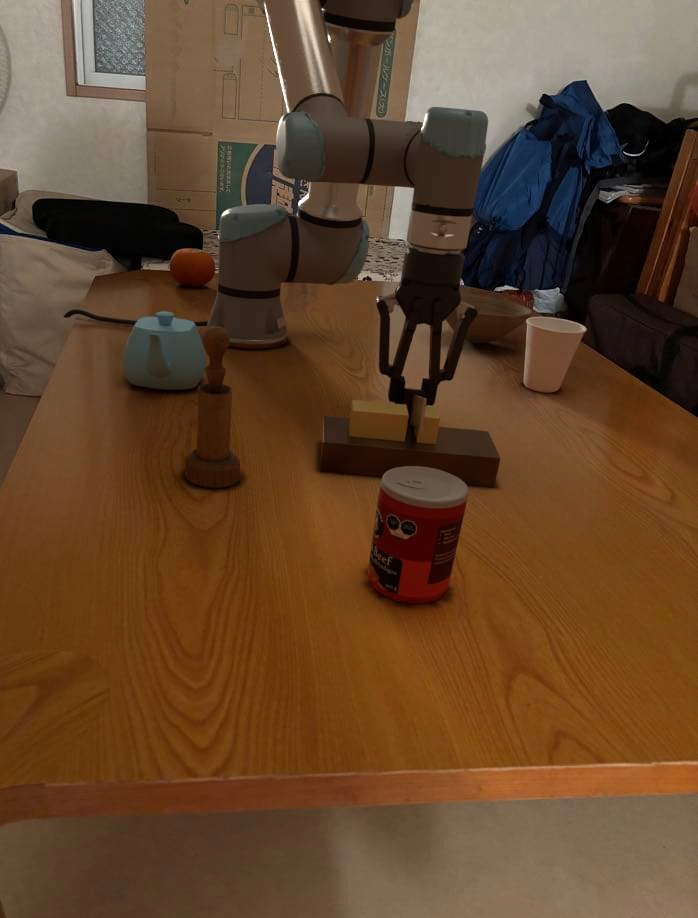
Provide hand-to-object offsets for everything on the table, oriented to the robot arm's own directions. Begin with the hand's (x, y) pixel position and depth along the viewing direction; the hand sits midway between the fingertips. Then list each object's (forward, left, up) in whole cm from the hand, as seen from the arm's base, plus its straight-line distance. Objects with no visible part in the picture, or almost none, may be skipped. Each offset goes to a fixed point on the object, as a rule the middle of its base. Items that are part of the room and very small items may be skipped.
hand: (406, 424), depth 108 cm
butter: (-5, -9, +2) cm, 11 cm away
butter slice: (+1, -9, +2) cm, 10 cm away
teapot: (-37, +14, -2) cm, 39 cm away
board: (-1, -9, -2) cm, 10 cm away
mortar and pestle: (-25, -18, -2) cm, 31 cm away
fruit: (-44, +85, -2) cm, 95 cm away
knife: (0, -5, +2) cm, 6 cm away
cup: (+26, +30, -2) cm, 40 cm away
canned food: (-3, -38, -2) cm, 39 cm away
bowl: (+19, +56, -2) cm, 59 cm away
